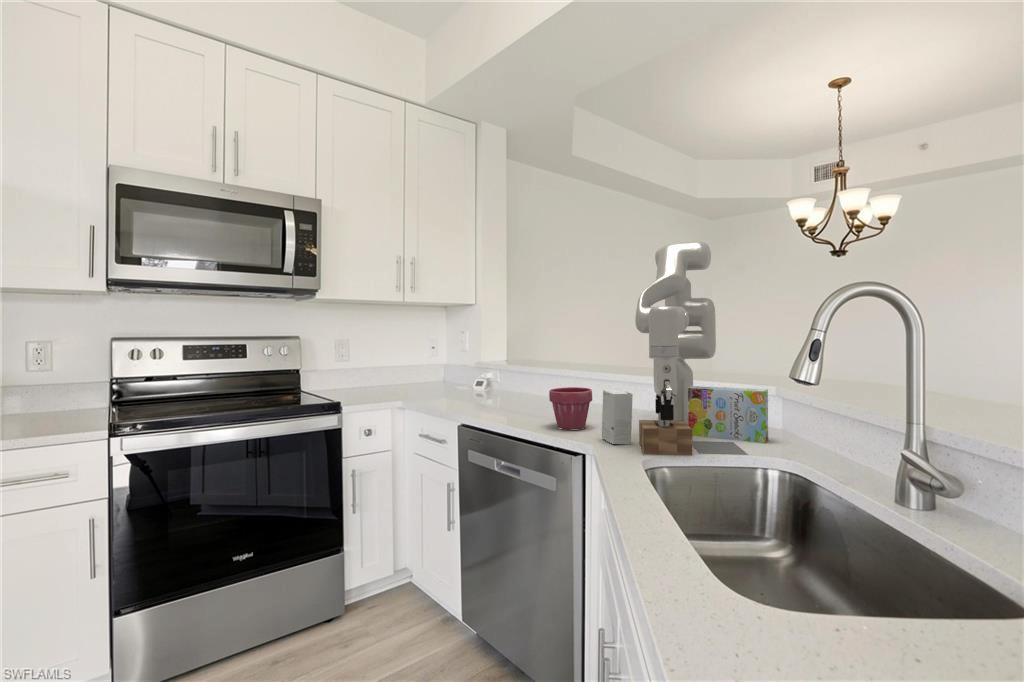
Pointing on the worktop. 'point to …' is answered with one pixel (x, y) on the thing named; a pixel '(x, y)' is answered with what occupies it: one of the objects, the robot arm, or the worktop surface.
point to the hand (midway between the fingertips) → (664, 416)
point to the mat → (717, 448)
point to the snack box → (728, 413)
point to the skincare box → (617, 416)
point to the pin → (663, 421)
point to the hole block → (665, 438)
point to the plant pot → (571, 406)
